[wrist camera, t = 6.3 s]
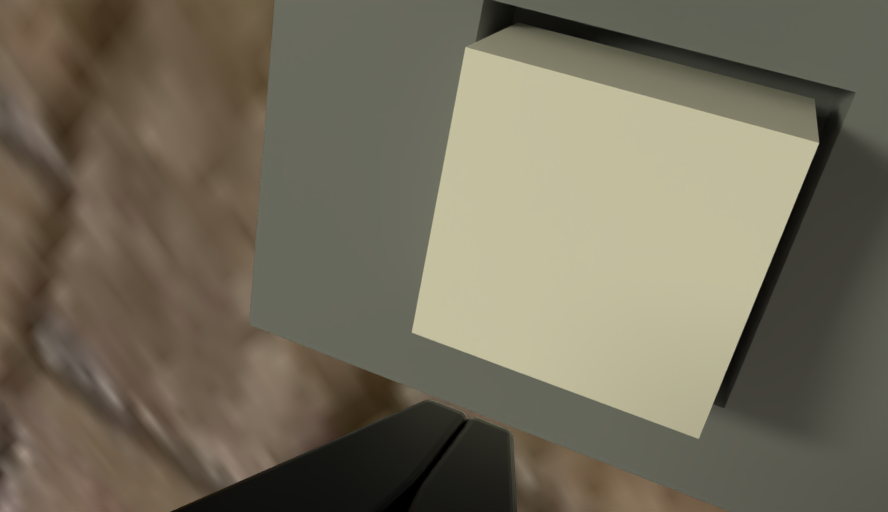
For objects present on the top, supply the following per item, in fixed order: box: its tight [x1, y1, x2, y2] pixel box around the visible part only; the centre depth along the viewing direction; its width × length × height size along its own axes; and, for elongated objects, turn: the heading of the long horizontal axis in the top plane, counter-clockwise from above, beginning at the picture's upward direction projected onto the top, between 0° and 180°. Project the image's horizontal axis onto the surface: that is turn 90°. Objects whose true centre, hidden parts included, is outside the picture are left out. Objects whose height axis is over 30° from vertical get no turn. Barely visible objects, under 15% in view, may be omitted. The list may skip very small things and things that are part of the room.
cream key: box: [412, 23, 819, 439], centre depth 13 cm, size 5×5×3 cm
